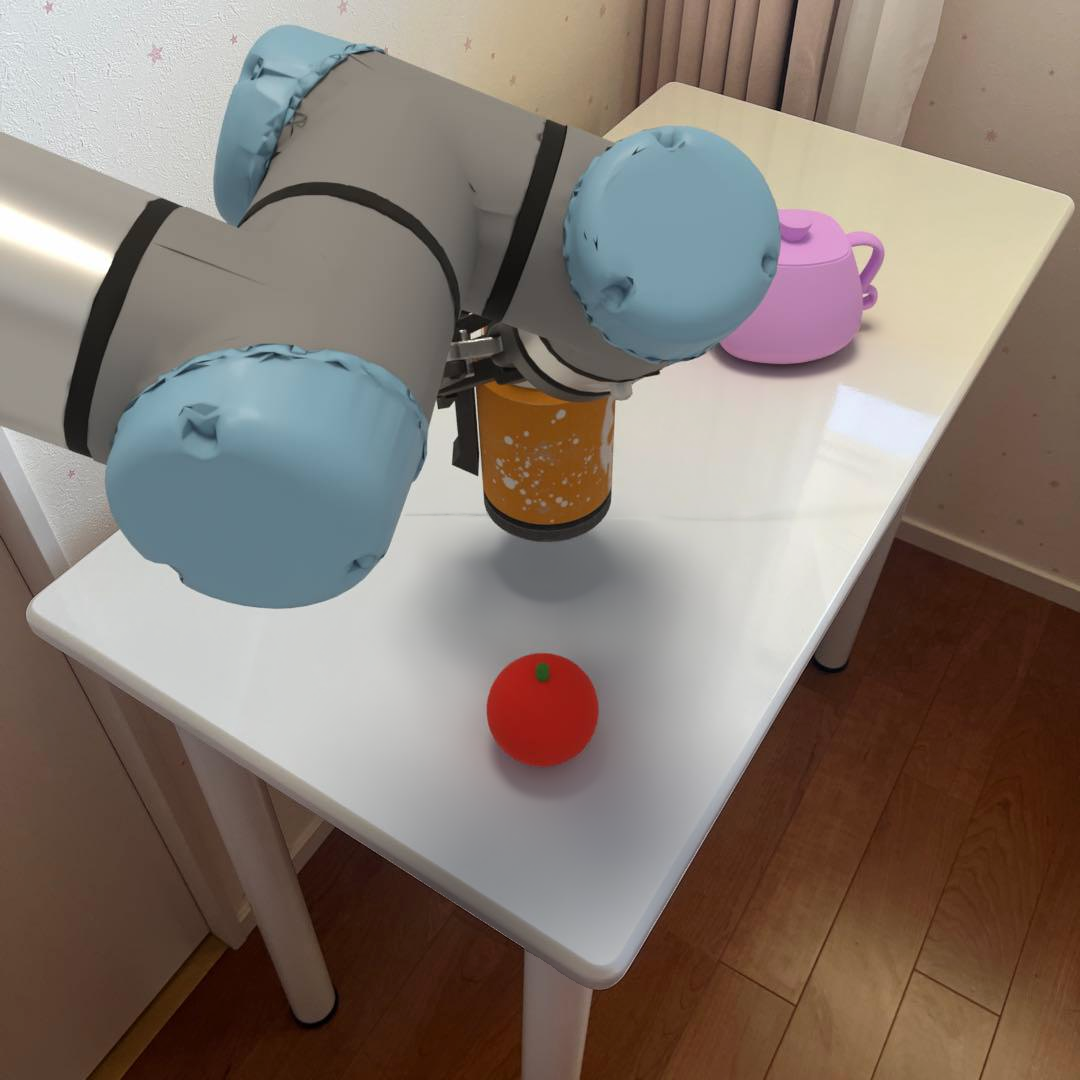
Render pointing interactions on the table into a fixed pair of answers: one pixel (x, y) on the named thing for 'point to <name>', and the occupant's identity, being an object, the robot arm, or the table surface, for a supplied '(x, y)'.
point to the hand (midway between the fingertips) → (523, 375)
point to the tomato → (542, 709)
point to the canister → (536, 455)
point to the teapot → (810, 293)
